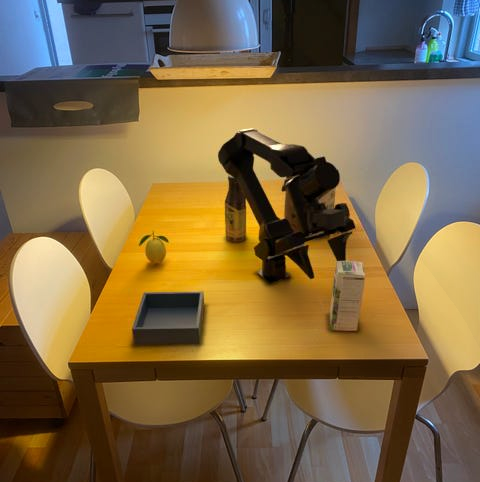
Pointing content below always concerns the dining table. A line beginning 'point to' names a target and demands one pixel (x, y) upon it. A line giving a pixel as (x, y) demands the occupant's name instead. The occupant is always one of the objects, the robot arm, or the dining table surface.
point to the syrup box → (347, 295)
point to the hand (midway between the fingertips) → (328, 273)
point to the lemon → (155, 248)
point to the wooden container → (325, 198)
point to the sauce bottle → (235, 212)
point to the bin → (169, 318)
